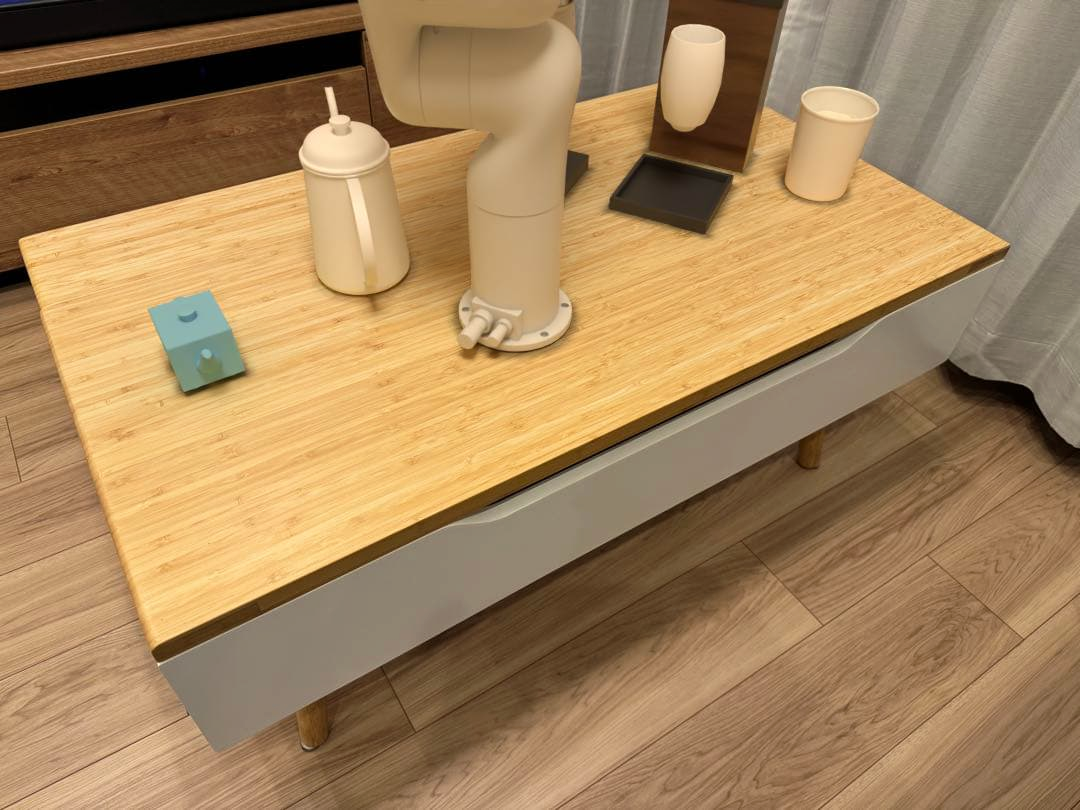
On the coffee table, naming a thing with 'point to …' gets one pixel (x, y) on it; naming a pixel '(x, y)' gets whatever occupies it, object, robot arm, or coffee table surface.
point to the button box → (575, 168)
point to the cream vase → (691, 75)
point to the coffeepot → (353, 206)
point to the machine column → (725, 80)
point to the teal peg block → (197, 339)
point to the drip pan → (672, 193)
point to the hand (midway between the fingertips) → (539, 136)
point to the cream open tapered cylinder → (828, 141)
